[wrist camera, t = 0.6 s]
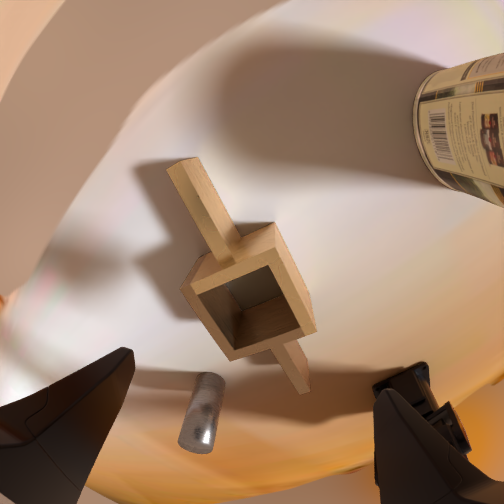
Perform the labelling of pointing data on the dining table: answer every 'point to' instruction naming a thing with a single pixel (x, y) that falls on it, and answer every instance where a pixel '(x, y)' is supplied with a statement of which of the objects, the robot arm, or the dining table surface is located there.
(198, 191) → the wooden box with arms
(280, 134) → the dining table surface
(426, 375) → the robot arm
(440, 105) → the coffee can
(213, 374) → the pin
